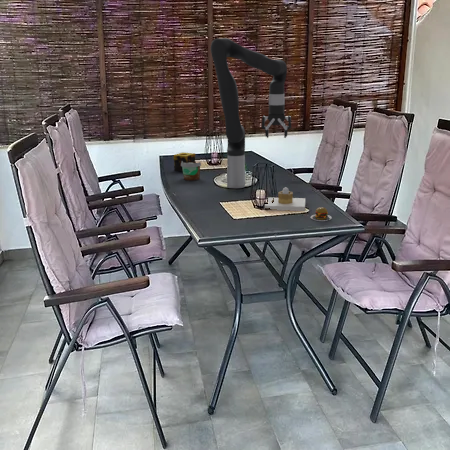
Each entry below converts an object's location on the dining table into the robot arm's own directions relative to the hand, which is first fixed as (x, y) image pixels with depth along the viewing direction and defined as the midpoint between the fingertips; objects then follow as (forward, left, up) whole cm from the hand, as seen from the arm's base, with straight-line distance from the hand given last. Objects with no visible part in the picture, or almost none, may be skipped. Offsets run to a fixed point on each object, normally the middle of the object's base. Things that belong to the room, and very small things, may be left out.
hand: (276, 137), depth 247 cm
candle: (-60, +52, -28) cm, 84 cm away
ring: (+6, -23, -26) cm, 35 cm away
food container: (-51, +26, -28) cm, 64 cm away
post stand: (+6, -23, -28) cm, 37 cm away
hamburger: (+22, -40, -29) cm, 54 cm away
